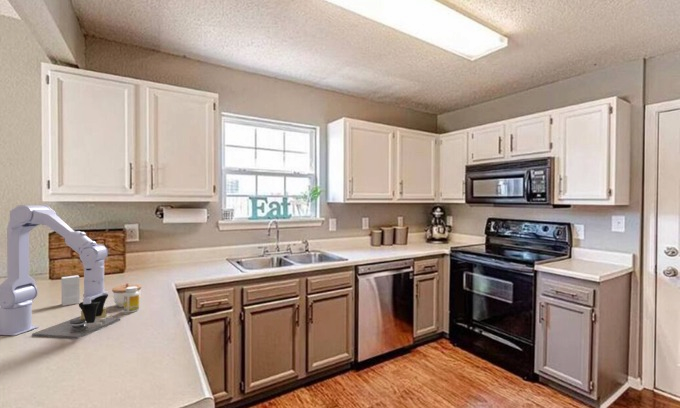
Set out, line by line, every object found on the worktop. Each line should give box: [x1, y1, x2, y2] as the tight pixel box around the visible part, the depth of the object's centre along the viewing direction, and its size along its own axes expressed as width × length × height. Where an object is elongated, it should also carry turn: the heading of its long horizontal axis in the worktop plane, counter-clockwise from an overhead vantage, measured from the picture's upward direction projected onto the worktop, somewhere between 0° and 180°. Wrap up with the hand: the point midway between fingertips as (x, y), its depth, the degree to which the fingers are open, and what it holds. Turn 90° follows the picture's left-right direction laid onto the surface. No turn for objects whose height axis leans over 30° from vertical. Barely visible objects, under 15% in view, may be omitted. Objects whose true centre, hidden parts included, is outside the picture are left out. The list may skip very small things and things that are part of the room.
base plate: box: [31, 315, 121, 340], centre depth 120 cm, size 17×18×2 cm
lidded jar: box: [111, 283, 142, 308], centre depth 147 cm, size 11×11×9 cm
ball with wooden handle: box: [69, 307, 108, 324], centre depth 121 cm, size 11×5×4 cm, turn 112°
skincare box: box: [60, 274, 81, 307], centre depth 149 cm, size 6×4×12 cm
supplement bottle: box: [123, 286, 140, 314], centre depth 139 cm, size 5×5×10 cm
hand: (94, 319), depth 117 cm, fingers open, 7 cm apart
